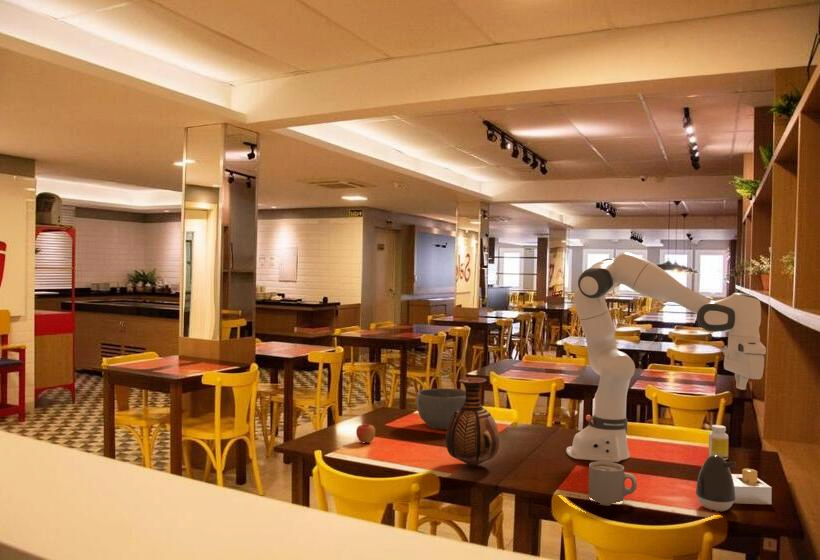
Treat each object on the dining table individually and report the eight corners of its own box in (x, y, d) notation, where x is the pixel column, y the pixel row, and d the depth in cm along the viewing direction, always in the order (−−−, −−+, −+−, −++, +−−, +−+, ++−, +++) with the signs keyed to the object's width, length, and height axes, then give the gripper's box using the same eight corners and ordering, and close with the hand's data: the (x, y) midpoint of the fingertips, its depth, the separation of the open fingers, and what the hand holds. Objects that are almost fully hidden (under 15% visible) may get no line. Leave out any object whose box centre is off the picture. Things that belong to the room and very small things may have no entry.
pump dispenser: (729, 517, 182) (730, 462, 182) (690, 508, 189) (691, 455, 189) (740, 508, 190) (741, 455, 189) (702, 499, 196) (703, 448, 196)
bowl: (412, 420, 294) (412, 387, 294) (466, 420, 297) (466, 386, 297) (419, 434, 270) (419, 397, 270) (477, 433, 272) (478, 397, 272)
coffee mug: (586, 502, 193) (586, 468, 193) (591, 492, 202) (591, 459, 202) (634, 509, 187) (635, 474, 187) (637, 498, 196) (638, 465, 196)
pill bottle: (730, 461, 237) (730, 429, 237) (710, 460, 238) (711, 427, 238) (725, 456, 243) (726, 424, 243) (706, 455, 244) (707, 423, 244)
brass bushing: (745, 499, 197) (746, 472, 197) (739, 494, 201) (740, 468, 201) (759, 499, 197) (759, 472, 197) (752, 494, 201) (753, 468, 201)
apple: (378, 443, 255) (379, 423, 255) (362, 446, 251) (362, 425, 251) (369, 439, 261) (369, 419, 261) (352, 442, 257) (353, 421, 257)
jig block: (722, 502, 194) (722, 485, 194) (706, 489, 206) (706, 473, 206) (771, 504, 193) (771, 487, 193) (752, 490, 205) (752, 474, 205)
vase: (507, 475, 218) (508, 384, 217) (453, 477, 215) (454, 385, 214) (488, 456, 239) (489, 373, 238) (439, 458, 236) (440, 374, 235)
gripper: (719, 340, 218) (717, 382, 218) (747, 348, 198) (744, 394, 198) (739, 341, 218) (737, 383, 218) (769, 349, 197) (766, 395, 198)
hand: (741, 388), depth 208 cm, fingers closed
